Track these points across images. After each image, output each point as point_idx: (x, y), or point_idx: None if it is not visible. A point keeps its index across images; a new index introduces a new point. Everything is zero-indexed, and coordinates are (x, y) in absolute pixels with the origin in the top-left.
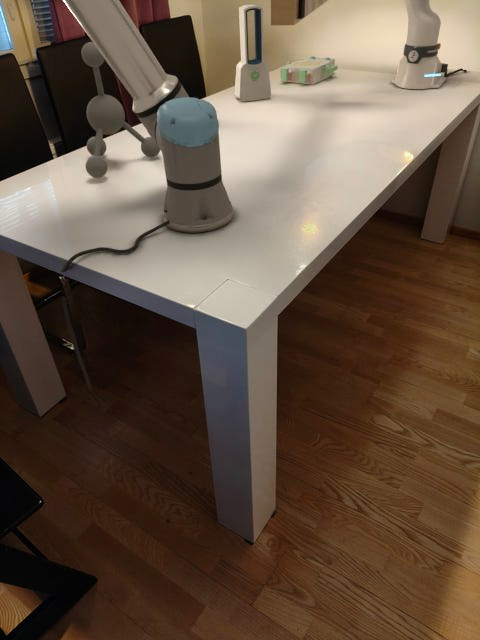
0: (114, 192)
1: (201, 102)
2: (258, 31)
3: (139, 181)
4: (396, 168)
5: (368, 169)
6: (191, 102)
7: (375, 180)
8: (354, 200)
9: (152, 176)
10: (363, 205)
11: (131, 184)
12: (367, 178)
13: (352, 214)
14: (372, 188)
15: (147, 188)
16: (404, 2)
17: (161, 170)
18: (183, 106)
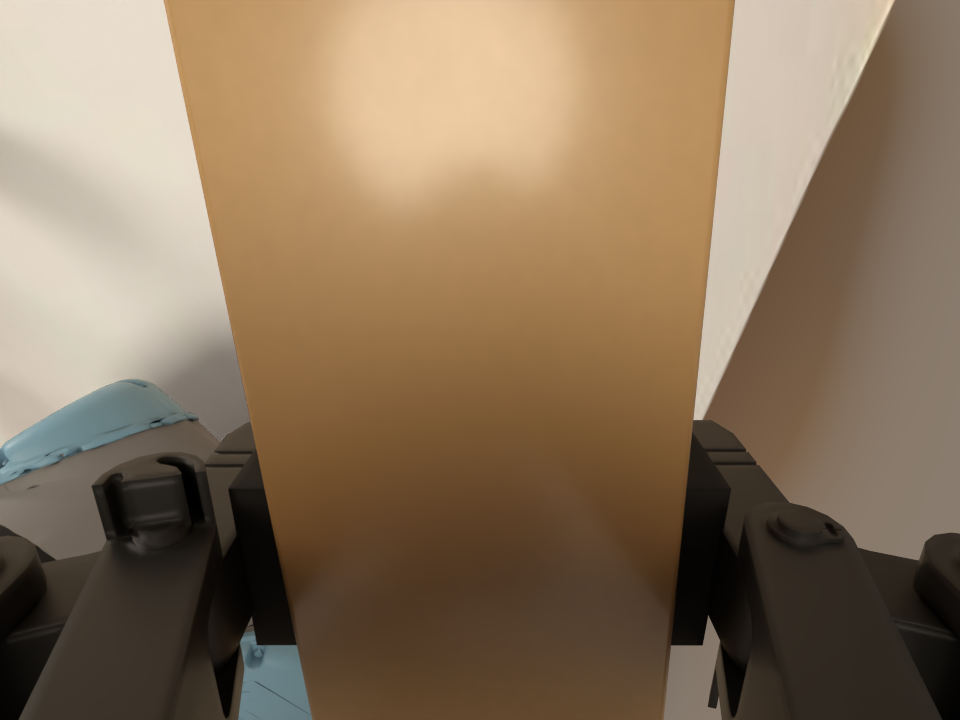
0: (43, 417)
1: (278, 682)
2: None
3: (52, 335)
4: (852, 47)
5: (751, 79)
6: (245, 692)
7: (769, 178)
8: (703, 334)
9: (62, 291)
10: (726, 358)
11: (46, 360)
12: (744, 166)
13: (698, 411)
14: (755, 244)
15: (112, 375)
16: None
17: (54, 238)
18: (240, 718)
